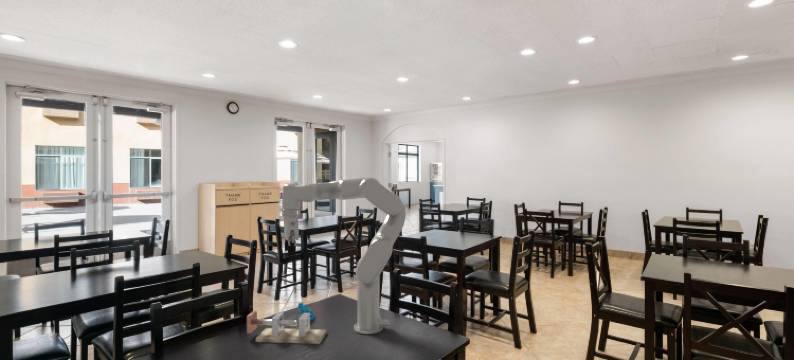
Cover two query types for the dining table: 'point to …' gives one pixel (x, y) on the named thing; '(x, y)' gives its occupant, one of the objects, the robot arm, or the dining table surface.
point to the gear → (306, 310)
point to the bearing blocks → (277, 329)
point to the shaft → (264, 322)
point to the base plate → (291, 336)
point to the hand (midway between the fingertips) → (289, 252)
